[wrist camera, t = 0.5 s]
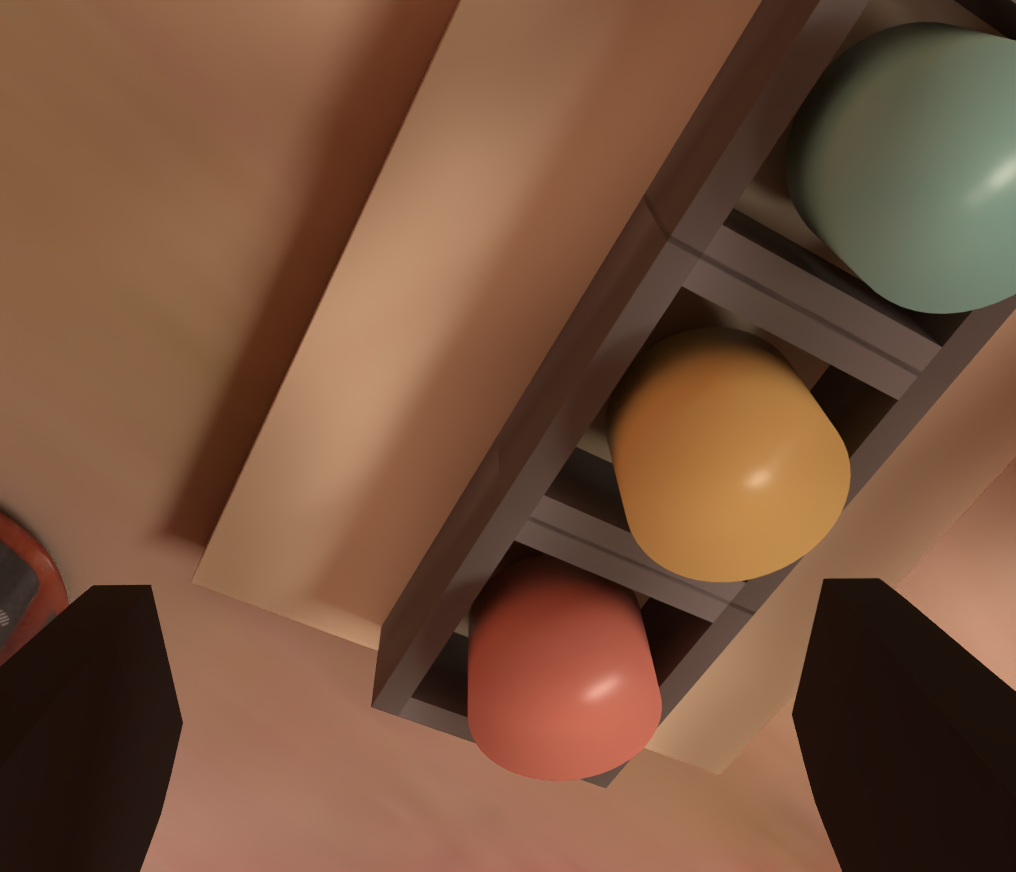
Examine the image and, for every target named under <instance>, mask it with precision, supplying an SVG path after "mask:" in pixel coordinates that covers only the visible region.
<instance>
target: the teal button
mask: <svg viewBox="0 0 1016 872" xmlns="http://www.w3.org/2000/svg"><path fill="white" fill-rule="evenodd" d="M786 178H787V184H788V189H789V193H790V196H791V199H792V201H793V204H794V207H795V209H796V210H797V212H798V214H799V216H800V217H801V219H802V220H803V222H804V223H805V224H806V225H807V227H808V228H809V229H810V230H811V231H812V232H813V233H814V234H815V235H816V236H817V237H818V238H819V239H820V240H821V241H823V242H824V243H825V244H826V245H827V246H828V247H829V248H830V249H831V250H832V251H833V252H834V253H835V254H836V255H837V256H838V257H839V258H840V259H841V260H842V261H843V262H844V263H845V264H846V265H848V266H849V267H850V268H851V269H852V270H853V271H854V272H855V273H856V274H857V275H858V276H859V277H860V278H861V279H862V280H863V281H864V282H865V283H866V284H867V285H868V286H870V287H871V288H872V289H873V290H874V291H875V292H876V293H878V294H879V295H881V296H882V297H884V298H885V299H886V300H888V301H890V302H892V303H894V304H897V305H899V306H901V307H904V308H907V309H911V310H914V311H919V312H926V313H940V314H948V313H958V312H966V311H970V310H975V309H979V308H983V307H986V306H989V305H992V304H995V303H997V302H1000V301H1002V300H1004V299H1006V298H1008V297H1011V296H1013V295H1015V294H1016V41H1015V40H1011V39H1007V38H1003V37H999V36H995V35H991V34H987V33H983V32H979V31H975V30H971V29H967V28H963V27H959V26H955V25H950V24H945V23H940V22H914V23H906V24H902V25H898V26H893V27H890V28H887V29H885V30H882V31H879V32H877V33H874V34H872V35H871V36H869V37H867V38H865V39H863V40H861V41H859V42H858V43H856V44H855V45H853V46H852V47H850V48H849V49H848V50H846V51H845V52H844V53H842V54H841V55H840V56H839V57H838V58H837V59H836V60H834V61H833V62H832V63H831V64H830V65H829V66H828V67H827V68H826V69H825V71H824V72H823V73H822V74H821V76H820V77H819V79H818V80H817V82H816V83H815V85H814V86H813V88H812V89H811V91H810V92H809V94H808V95H807V97H806V98H805V100H804V102H803V103H802V105H801V106H800V108H799V110H798V112H797V114H796V116H795V119H794V121H793V125H792V128H791V131H790V134H789V139H788V145H787V150H786Z"/></svg>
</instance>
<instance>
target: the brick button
mask: <svg viewBox="0 0 1016 872" xmlns="http://www.w3.org/2000/svg"><path fill="white" fill-rule="evenodd" d="M661 712H662V700H661V695H660V691H659V686H658V682H657V678H656V674H655V670H654V665H653V661H652V657H651V653H650V649H649V644H648V640H647V636H646V632H645V628H644V623H643V619H642V615H641V611H640V607H639V602H638V600H637V597H636V595H635V593H634V591H633V589H630V588H628V587H625V586H623V585H621V584H618V583H616V582H613V581H611V580H609V579H606V578H604V577H601V576H599V575H597V574H594V573H592V572H589V571H587V570H585V569H582V568H580V567H577V566H575V565H573V564H570V563H568V562H565V561H563V560H561V559H558V558H556V557H553V556H551V555H542V556H537V557H532V558H529V559H525V560H522V561H519V562H517V563H515V564H512V565H510V566H508V567H507V568H505V569H503V570H501V571H500V572H498V573H497V574H496V575H494V576H493V577H492V578H491V579H490V580H489V581H488V582H487V583H486V584H485V585H484V587H483V588H482V590H481V591H480V593H479V594H478V596H477V597H476V599H475V600H474V602H473V603H472V606H471V609H470V613H469V618H468V724H469V729H470V732H471V735H472V737H473V739H474V741H475V742H476V744H477V746H478V747H479V748H480V749H481V751H482V752H483V753H484V754H485V755H486V756H487V757H488V758H489V759H491V760H492V761H494V762H495V763H496V764H498V765H499V766H501V767H503V768H505V769H507V770H509V771H511V772H514V773H516V774H519V775H523V776H526V777H530V778H535V779H541V780H552V781H565V780H576V779H582V778H587V777H591V776H595V775H599V774H602V773H604V772H607V771H610V770H612V769H614V768H616V767H618V766H620V765H622V764H624V763H625V762H627V761H628V760H630V759H631V758H633V757H634V756H635V755H636V754H638V753H639V752H640V751H641V750H642V749H643V748H644V747H645V746H646V745H647V743H648V742H649V741H650V739H651V738H652V737H653V735H654V733H655V731H656V729H657V727H658V724H659V722H660V718H661Z"/></svg>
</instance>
